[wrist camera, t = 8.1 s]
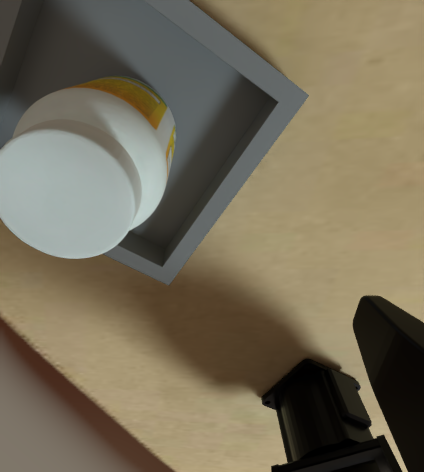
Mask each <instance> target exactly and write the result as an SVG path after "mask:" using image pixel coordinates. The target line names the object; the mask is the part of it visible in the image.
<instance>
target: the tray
mask: <svg viewBox="0 0 424 472" xmlns="http://www.w3.org/2000/svg"><path fill="white" fill-rule="evenodd" d="M107 76H126V77H130V78H134V79H137V80H139V81H141V82H143V83H145V84H147V85H148V86H150V87H151V88H152V89H154V90H155V91H156V92H157V93H158V94H159V95H160V96H161V97H162V98H163V99H164V101H165V102H166V104H167V105H168V107H169V108H170V110H171V113H172V115H173V118H174V121H175V126H176V143H175V149H174V154H173V158H172V162H171V167H170V171H169V175H168V180H167V183H166V187H165V191H164V194H163V196H162V199H161V201H160V203H159V204H158V206H157V208H156V209H155V211H154V212H153V213H152V214H151V215H150V216H149V217H148V218H147V219H146V220H145V221H144V222H143V223H141V224H140V225H139V226H137V227H135V228H133V229H132V230H129V232H128V233H127V235H126V236H125V237H124V238H123V239H122V241H121V242H120V243H119V244H117V245H116V246H115V247H114V248H112V249H110V250H109V251H107V252H105V253H103V255H106V256H108V257H110V258H112V259H114V260H116V261H118V262H120V263H122V264H124V265H127V266H129V267H131V268H133V269H135V270H137V271H139V272H141V273H143V274H145V275H148V276H150V277H152V278H154V279H156V280H158V281H160V282H162V283H164V284H166V285H170V283H171V282H172V280H173V279H174V278H175V276H176V275H177V274H178V272H179V271H180V270H181V268H182V267H183V266H184V264H185V263H186V262H187V260H188V259H189V257H190V256H191V255H192V253H193V252H194V251H195V249H196V248H197V247H198V245H199V244H200V243H201V241H202V240H203V239H204V237H205V236H206V234H207V233H208V232H209V230H210V229H211V228H212V226H213V225H214V224H215V222H216V221H217V220H218V218H219V217H220V215H221V214H222V213H223V211H224V210H225V209H226V207H227V206H228V205H229V203H230V202H231V201H232V199H233V198H234V197H235V195H236V194H237V192H238V191H239V190H240V188H241V187H242V186H243V184H244V183H245V182H246V180H247V179H248V178H249V176H250V175H251V174H252V172H253V171H254V169H255V168H256V167H257V165H258V164H259V163H260V161H261V160H262V159H263V157H264V156H265V155H266V153H267V152H268V150H269V149H270V148H271V146H272V145H273V144H274V142H275V141H276V140H277V138H278V137H279V136H280V134H281V133H282V132H283V130H284V129H285V127H286V126H287V125H288V123H289V122H290V121H291V119H292V118H293V117H294V115H295V114H296V113H297V111H298V110H299V109H300V107H301V106H302V104H303V103H304V102H305V100H306V99H307V98H308V96H309V95H308V94H307V93H306V92H304V91H303V90H302V89H300V88H299V87H298V86H297V85H295V84H294V83H293V82H292V81H290V80H289V79H288V78H287V77H285V76H284V75H283V74H281V73H280V72H279V71H278V70H276V69H275V68H274V67H273V66H271V65H270V64H269V63H268V62H266V61H265V60H264V59H263V58H261V57H260V56H259V55H257V54H256V53H255V52H254V51H252V50H251V49H250V48H249V47H247V46H246V45H245V44H244V43H242V42H241V41H240V40H238V39H237V38H236V37H235V36H233V35H232V34H231V33H230V32H228V31H227V30H226V29H225V28H223V27H222V26H221V25H220V24H218V23H217V22H216V21H214V20H213V19H212V18H211V17H209V16H208V15H207V14H206V13H204V12H203V11H202V10H201V9H199V8H198V7H197V6H195V5H194V4H193V3H192V2H190V1H189V0H0V149H1V148H2V147H3V146H4V145H5V144H6V142H8V141H9V140H10V139H12V138H13V134H14V131H15V129H16V126H17V124H18V122H19V120H20V119H21V117H22V116H23V114H24V113H25V112H26V111H27V110H28V108H29V107H30V106H32V105H33V104H34V103H35V102H36V101H38V100H39V99H41V98H43V97H44V96H46V95H48V94H50V93H53V92H56V91H58V90H62V89H65V88H68V87H72V86H76V85H79V84H83V83H86V82H90V81H93V80H96V79H99V78H103V77H107Z"/></svg>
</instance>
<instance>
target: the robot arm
mask: <svg viewBox="0 0 424 472" xmlns="http://www.w3.org/2000/svg"><path fill="white" fill-rule="evenodd" d="M353 330H354V333H355V337H356V340H357V343H358V346H359V349H360V352H361V356H362V359H363V362H364V365H365V368H366V371H367V375H368V378H369V381H370V384H371V386H372V389H373V392H374V394H375V396H376V399H377V401H378V403H379V406H380V408H381V410H382V413H383V415H384V417H385V420H386V422H387V424H388V427H389V429H390V431H391V433H392V436H393V438H394V440H395V443H396V445H397V447H398V450H399V452H400V454H401V457H402V459H403V461H404V463H405V466H406V468H407V470H408V472H424V323H423V322H422V321H420V320H418V319H417V318H415V317H414V316H412V315H410V314H409V313H407V312H405V311H404V310H402V309H401V308H399V307H397V306H396V305H394V304H392V303H391V302H389V301H388V300H386V299H384V298H383V297H381V296H363V297H362V298H361V299H360V301H359V304H358V307H357V310H356V313H355V316H354V319H353ZM360 388H361V387H360V385H359V383H358V382H357V381H355V380H353V379H351V378H349V377H347V376H345V375H343V374H341V373H339V372H337V371H335V370H332V369H330V368H328V367H326V366H323V365H321V364H319V363H317V362H315V361H313V360H310V359H306V360H304V361H302V362H301V363H300V364H299V365H298V366H297V367H296V368H294V369H293V370H292V371H291V372H290V373H289V374H288V375H287V376H285V377H284V378H283V379H282V380H281V381H280V382H279V383H278V384H276V385H275V386H274V387H273V388H272V389H271V390H270V391H269V392H267V393H266V394H265V395H264V396H263V397H262V404H263V405H264V406H267V407H269V408H272V409H274V410H276V412H277V416H278V421H279V425H280V430H281V435H282V439H283V444H284V448H285V453H286V457H287V462H288V463H286V464H282V465H278V464H277V465H274V466H271V470H272V472H402V470H401V468H400V466H399V464H398V462H397V460H396V458H395V456H394V454H393V452H392V450H391V448H390V446H389V444H388V442H387V440H386V438H385V436H384V435H381V436H377V438H375V439H373V436H372V434H371V432H370V430H369V427H370V426H371V420H370V418H369V415H368V413H367V411H366V409H365V407H364V405H363V402H362V400H361V398H360V396H359V394H358V392H357V391H359V390H360Z"/></svg>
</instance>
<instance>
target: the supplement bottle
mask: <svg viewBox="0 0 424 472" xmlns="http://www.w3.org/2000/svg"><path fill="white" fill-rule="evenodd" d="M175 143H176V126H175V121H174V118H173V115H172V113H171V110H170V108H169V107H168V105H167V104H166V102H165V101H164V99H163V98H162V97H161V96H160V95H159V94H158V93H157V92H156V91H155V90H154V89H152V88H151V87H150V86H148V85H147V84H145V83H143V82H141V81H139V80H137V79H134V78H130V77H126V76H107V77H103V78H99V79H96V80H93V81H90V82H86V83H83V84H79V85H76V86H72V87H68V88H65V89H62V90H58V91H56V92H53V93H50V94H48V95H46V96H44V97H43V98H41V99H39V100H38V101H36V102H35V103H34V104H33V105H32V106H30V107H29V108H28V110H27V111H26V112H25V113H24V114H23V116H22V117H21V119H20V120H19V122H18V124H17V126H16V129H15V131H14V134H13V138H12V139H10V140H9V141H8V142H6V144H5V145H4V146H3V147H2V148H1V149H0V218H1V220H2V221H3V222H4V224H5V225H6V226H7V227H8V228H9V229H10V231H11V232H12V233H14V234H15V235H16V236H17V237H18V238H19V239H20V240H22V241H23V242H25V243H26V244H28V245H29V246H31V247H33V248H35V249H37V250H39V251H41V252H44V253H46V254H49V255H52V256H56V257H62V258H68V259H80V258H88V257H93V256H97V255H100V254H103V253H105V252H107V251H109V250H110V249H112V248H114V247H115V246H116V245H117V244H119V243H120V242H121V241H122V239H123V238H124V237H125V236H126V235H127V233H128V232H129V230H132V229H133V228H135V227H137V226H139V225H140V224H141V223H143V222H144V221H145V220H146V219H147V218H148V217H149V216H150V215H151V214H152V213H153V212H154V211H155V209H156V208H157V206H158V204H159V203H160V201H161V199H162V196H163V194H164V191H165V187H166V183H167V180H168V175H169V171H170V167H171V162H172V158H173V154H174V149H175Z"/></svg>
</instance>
